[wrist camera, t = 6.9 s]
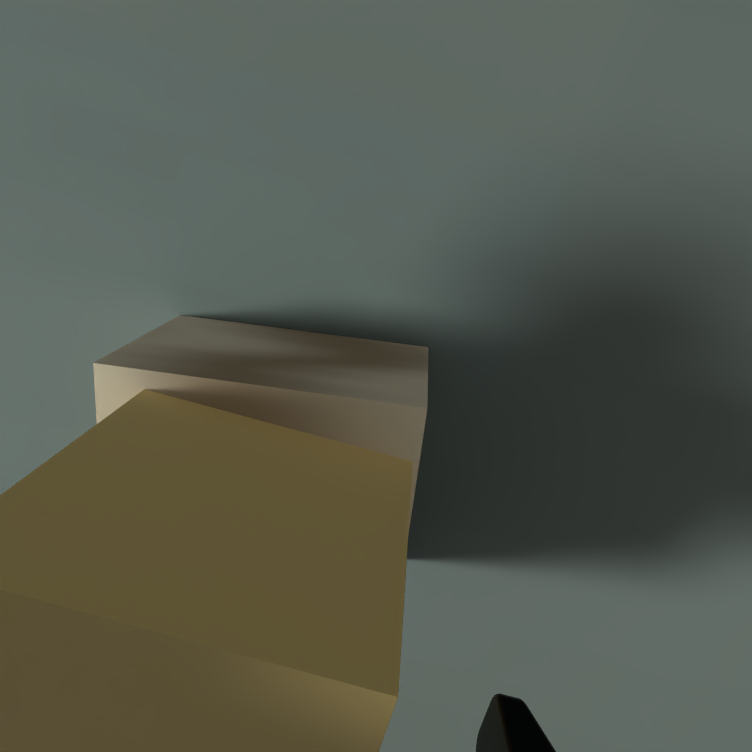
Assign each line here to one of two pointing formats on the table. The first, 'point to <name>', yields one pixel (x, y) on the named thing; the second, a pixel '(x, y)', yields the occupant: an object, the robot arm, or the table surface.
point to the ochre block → (202, 588)
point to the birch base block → (280, 381)
